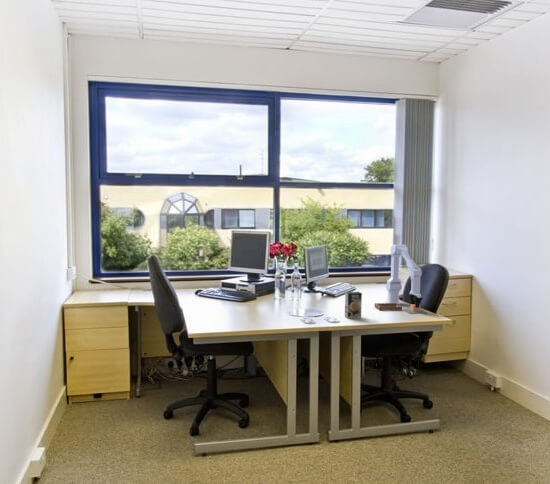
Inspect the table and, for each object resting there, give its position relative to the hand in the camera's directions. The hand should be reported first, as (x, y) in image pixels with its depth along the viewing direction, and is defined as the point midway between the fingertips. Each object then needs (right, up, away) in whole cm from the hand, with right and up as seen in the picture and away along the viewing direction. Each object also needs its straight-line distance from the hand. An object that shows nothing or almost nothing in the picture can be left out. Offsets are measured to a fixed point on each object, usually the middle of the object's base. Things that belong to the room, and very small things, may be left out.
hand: (415, 306), depth 327 cm
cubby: (-16, -3, +9) cm, 19 cm away
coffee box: (-45, -5, -18) cm, 48 cm away
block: (0, -3, 0) cm, 3 cm away
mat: (0, -3, 0) cm, 3 cm away
